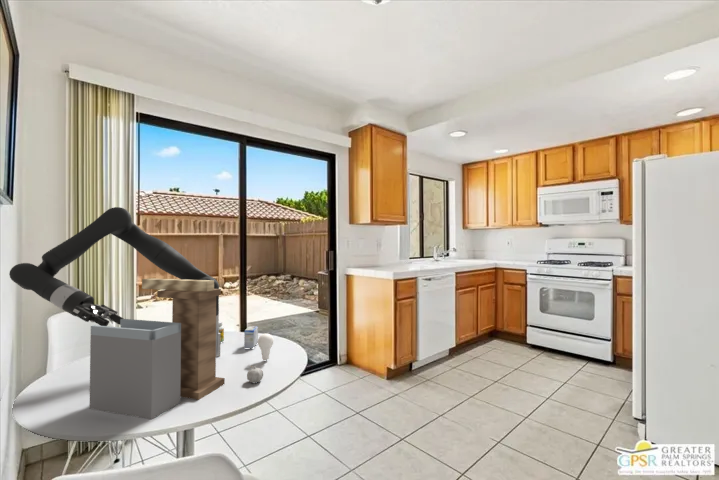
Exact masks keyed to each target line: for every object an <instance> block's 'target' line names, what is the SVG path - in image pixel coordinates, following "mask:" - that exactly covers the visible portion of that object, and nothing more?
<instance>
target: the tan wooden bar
mask: <svg viewBox="0 0 719 480" xmlns="http://www.w3.org/2000/svg"><path fill="white" fill-rule="evenodd" d="M141 289H144V290H159V291H161V290H183V291H206V292H208V291H213V290H214V280H185V279H180V278H177V279H176V278H155V277H153V278H152V277H151V278H150V277H149V278H142V279H141Z"/></svg>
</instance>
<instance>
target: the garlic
mask: <svg viewBox="0 0 719 480" xmlns="http://www.w3.org/2000/svg"><path fill="white" fill-rule="evenodd" d="M246 377H247V380H248V382H250V383H251V382H252V384H257V383H256V382H259V383H260V382H261V381H262V379H263V377H264V370H263V369H262V368H260V367H256V366H255V365H251V366H250V369H249V370H248V371H247V374H246Z"/></svg>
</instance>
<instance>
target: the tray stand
mask: <svg viewBox="0 0 719 480" xmlns="http://www.w3.org/2000/svg"><path fill="white" fill-rule="evenodd" d="M89 353H90V354H89V356H90V358H89V409H90V410H94V411H101V412H106V413H112V414H118V415H125V416H130V417H135V418H136V417H138V418H141V419H148V420H153V419H154V418H156V417H158V416H160V415H162V414H163V413H165V412H166V411H168V410H170V409H172V408H173V407H175V406H177V405H179V404H181V397H180V384H181V323H174V322H172V321H171V322H170V321H158V320H157V321H156V320H145V319H143V320H142V319H132V318H124V319H120V325H119V326H108V325H107V326H101V325H99V324H97V325H96V324H95V325H94V324H93V325H90V349H89Z"/></svg>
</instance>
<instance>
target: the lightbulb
mask: <svg viewBox="0 0 719 480" xmlns="http://www.w3.org/2000/svg"><path fill="white" fill-rule="evenodd" d="M274 342H275V340H274V337H273V335H271V334H270V333H263V334H261V335H260V336H258V344H257V346H258V347H259V349H260V350H261V351H260V352H261V356H262V357H261V358H262V359H263V360H262V361H264V360H267V359H270V353H271V349H272V347H273V345H274ZM267 361H268V360H267Z"/></svg>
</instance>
